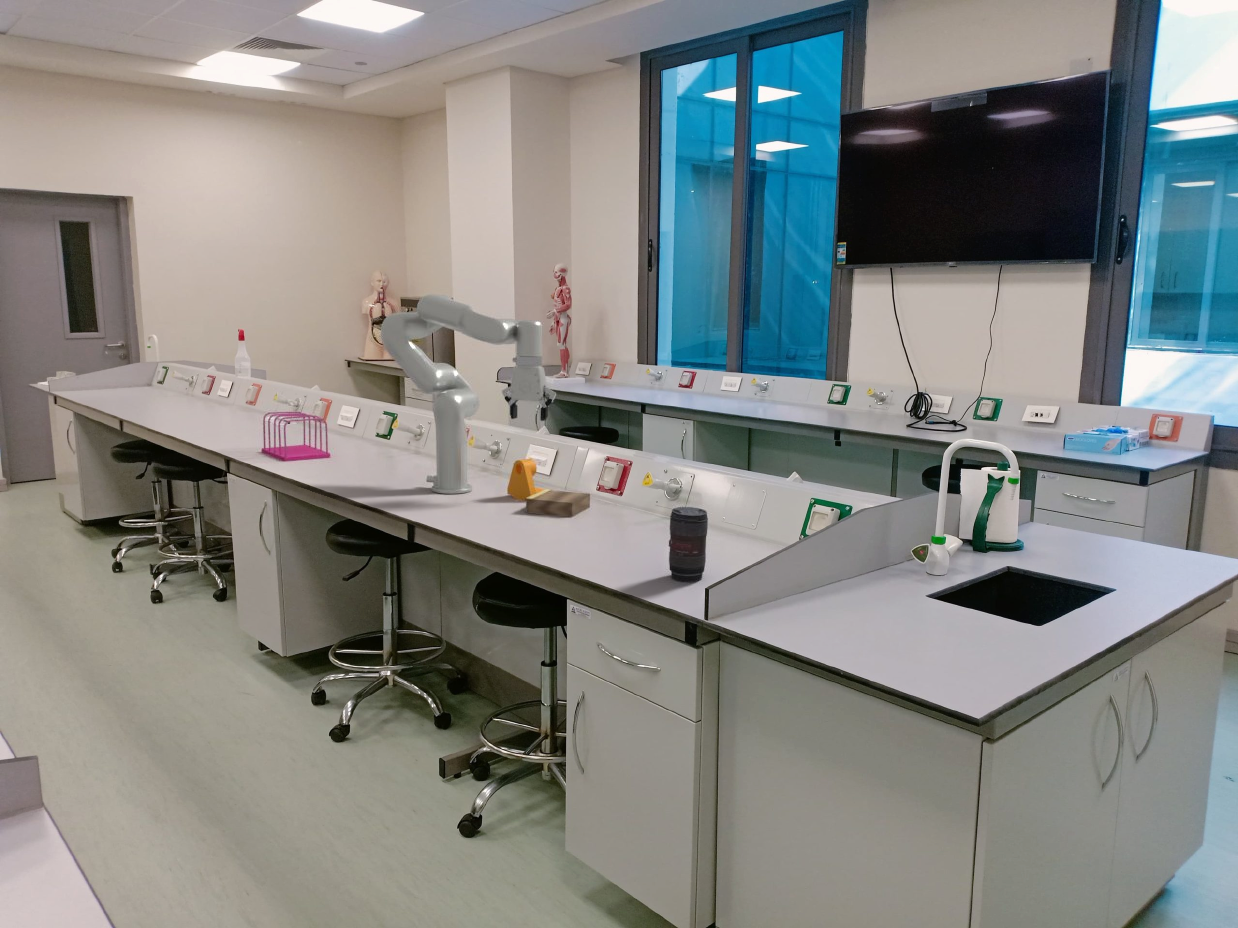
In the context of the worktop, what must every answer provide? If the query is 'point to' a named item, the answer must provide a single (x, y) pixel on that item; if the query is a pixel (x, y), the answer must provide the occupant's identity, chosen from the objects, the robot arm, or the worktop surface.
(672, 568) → the camera lens
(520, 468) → the bracket
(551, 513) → the dock
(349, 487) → the worktop surface
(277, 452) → the file sorter
